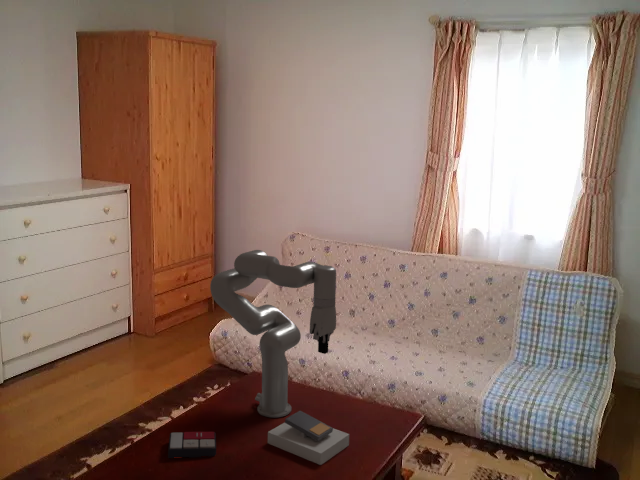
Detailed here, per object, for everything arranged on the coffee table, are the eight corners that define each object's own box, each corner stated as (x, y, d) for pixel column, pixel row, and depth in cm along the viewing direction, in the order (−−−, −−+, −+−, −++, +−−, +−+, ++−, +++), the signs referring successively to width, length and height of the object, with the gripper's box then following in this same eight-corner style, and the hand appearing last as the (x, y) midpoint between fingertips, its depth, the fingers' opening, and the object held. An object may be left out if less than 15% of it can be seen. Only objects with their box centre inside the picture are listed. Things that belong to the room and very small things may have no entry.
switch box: (267, 443, 212) (267, 427, 211) (297, 425, 225) (297, 411, 224) (320, 465, 199) (321, 449, 198) (348, 445, 212) (349, 430, 211)
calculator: (216, 446, 203) (168, 447, 200) (215, 458, 203) (167, 459, 200) (215, 430, 213) (169, 430, 210) (215, 441, 214) (169, 442, 211)
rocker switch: (284, 422, 212) (285, 418, 211) (299, 414, 218) (300, 409, 217) (318, 441, 204) (318, 436, 203) (332, 431, 210) (333, 427, 210)
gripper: (328, 295, 226) (326, 344, 229) (302, 304, 214) (301, 355, 217) (345, 299, 221) (343, 349, 225) (320, 308, 209) (318, 361, 213)
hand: (323, 352), depth 221 cm, fingers closed
